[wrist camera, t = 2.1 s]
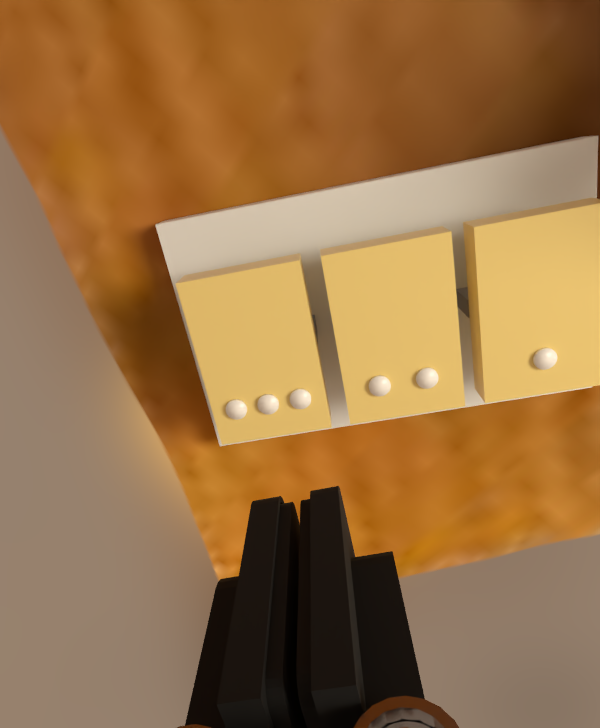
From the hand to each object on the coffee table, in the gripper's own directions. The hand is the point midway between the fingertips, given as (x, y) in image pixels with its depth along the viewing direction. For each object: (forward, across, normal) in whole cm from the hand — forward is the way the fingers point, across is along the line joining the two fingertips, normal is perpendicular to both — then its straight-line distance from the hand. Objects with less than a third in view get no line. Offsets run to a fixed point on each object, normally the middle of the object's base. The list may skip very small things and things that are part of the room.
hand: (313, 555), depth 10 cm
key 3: (+17, +3, +1) cm, 17 cm away
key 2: (+17, -4, +2) cm, 18 cm away
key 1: (+17, -11, +2) cm, 20 cm away
